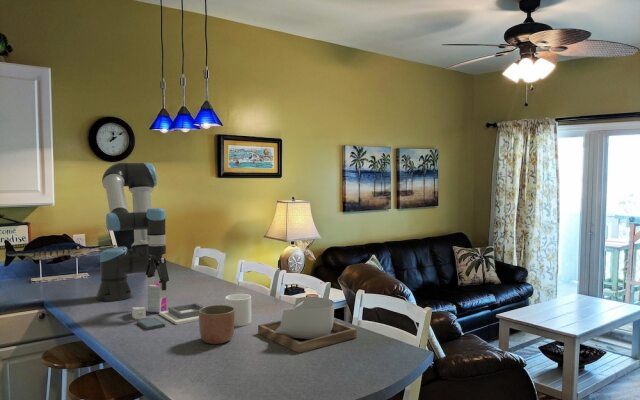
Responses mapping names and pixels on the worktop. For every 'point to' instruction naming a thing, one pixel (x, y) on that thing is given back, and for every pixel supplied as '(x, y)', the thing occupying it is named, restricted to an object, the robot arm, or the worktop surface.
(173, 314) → the plate
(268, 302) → the worktop surface
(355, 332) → the wooden tray
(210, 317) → the planter
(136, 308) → the white cube
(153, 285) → the supplement box
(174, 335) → the worktop surface
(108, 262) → the robot arm
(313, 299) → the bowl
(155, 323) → the phone
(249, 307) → the mug
